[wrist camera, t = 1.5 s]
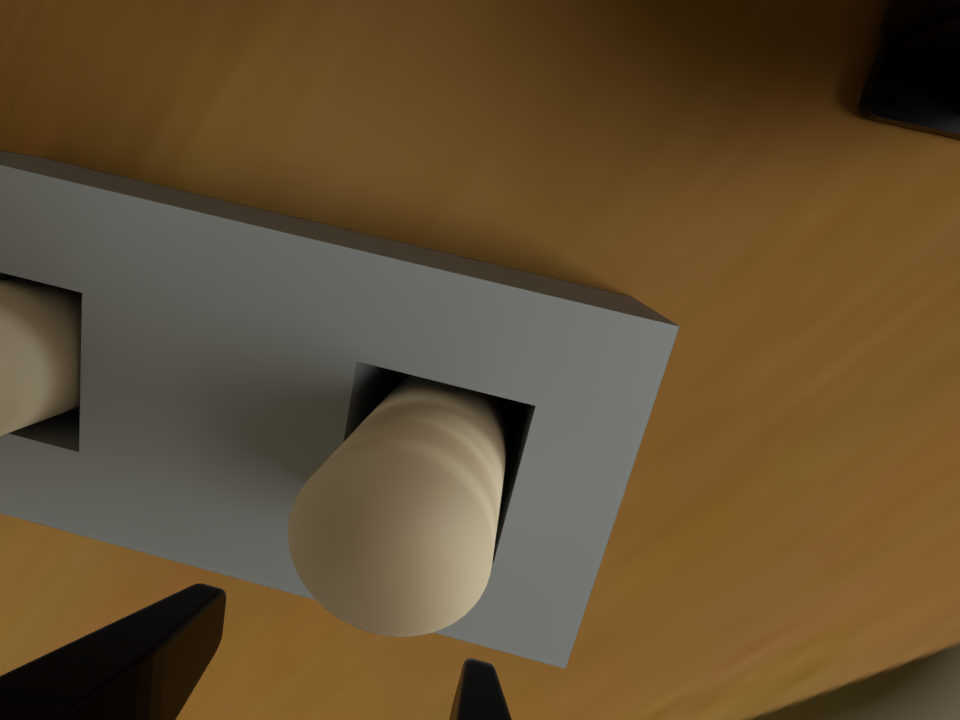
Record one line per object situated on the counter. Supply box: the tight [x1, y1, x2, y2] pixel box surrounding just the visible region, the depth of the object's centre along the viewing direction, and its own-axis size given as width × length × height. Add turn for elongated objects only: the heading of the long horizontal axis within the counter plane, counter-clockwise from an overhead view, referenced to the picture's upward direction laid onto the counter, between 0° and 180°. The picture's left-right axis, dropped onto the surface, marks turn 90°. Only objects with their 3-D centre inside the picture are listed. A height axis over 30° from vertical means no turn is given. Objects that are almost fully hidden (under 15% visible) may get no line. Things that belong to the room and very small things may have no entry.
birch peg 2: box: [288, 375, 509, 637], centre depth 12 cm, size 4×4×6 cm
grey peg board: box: [0, 151, 679, 669], centre depth 16 cm, size 22×10×6 cm, turn 77°
